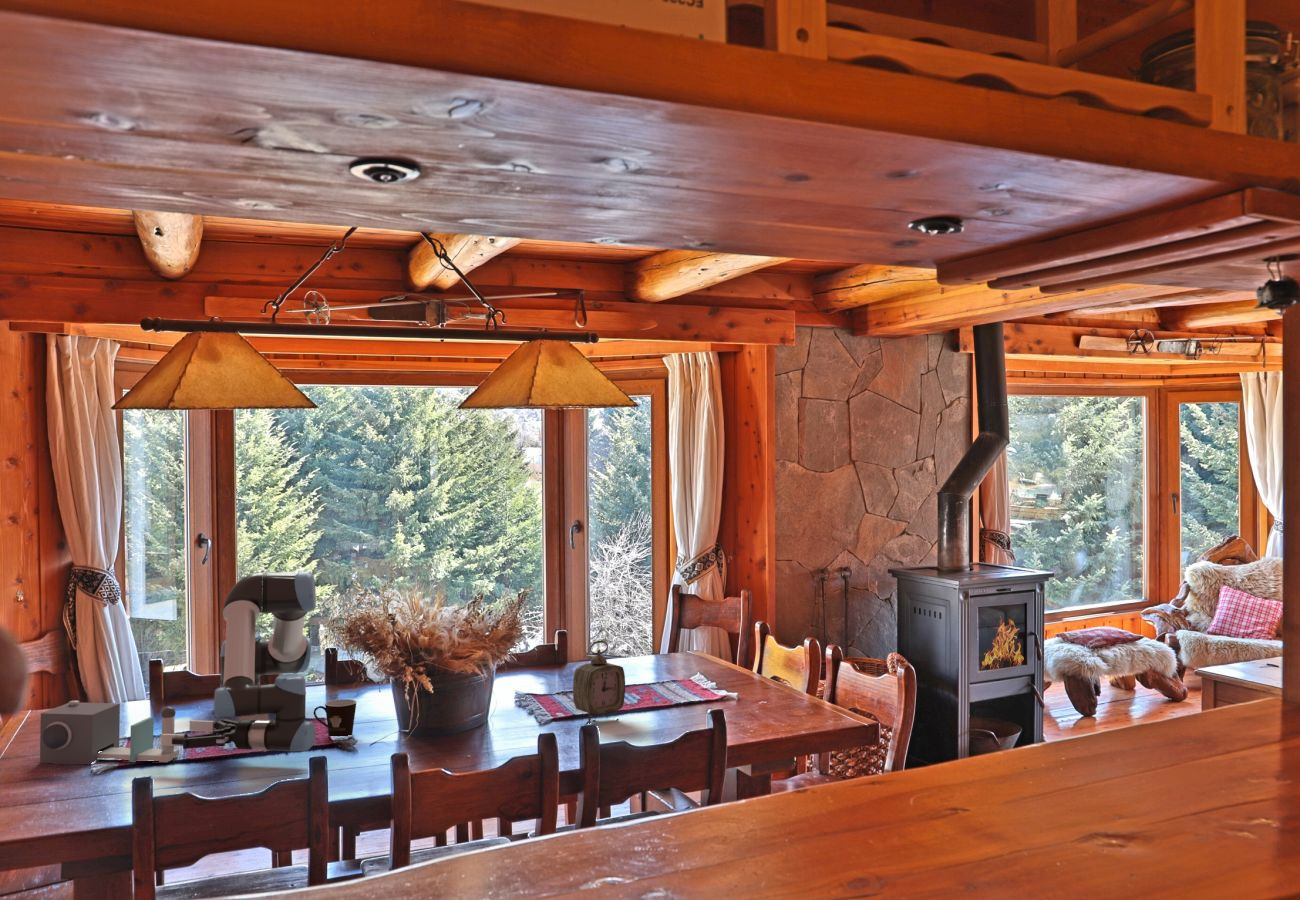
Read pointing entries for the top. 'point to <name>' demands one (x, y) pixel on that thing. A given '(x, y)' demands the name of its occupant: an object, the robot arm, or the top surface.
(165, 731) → the battery sled
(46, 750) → the camera body
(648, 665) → the top surface
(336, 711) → the coffee mug
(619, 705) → the tabletop clock
